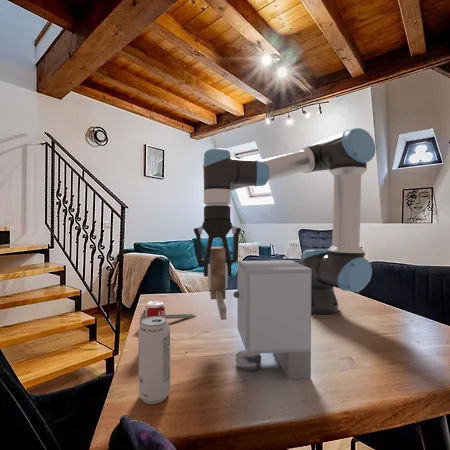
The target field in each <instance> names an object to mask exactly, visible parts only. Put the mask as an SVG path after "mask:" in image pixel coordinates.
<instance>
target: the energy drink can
mask: <svg viewBox="0 0 450 450" xmlns="http://www.w3.org/2000/svg"><path fill="white" fill-rule="evenodd" d="M137 331H138V332H137V333H138V335H137V336H138V337H137V338H138V339H137V340H138V343H137V344H138V353H137V354H138V355H137V356H138V357H137V358H138V396H139V398H140V399H141V401H142V402H143V403H145V404H147V405H156V404H158V403H162V402H163V401H165V400H166V399H167V397H168V395H169V394H170V392H171V327H170V325H169V323H168V319H166V318H165V317H161V316H153V317H148V318H145V319H143V320H142V324H141V326H140V325H139V328H138V329H137Z"/></svg>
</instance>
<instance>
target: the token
mask: <svg viewBox="0 0 450 450" xmlns="http://www.w3.org/2000/svg"><path fill="white" fill-rule="evenodd" d="M235 366H236V368H237V369H238V370H240V371H242V372H247V373H248V372H249V373H251V372H256V371H259V370H260V369H261V367H262V355H261V354H247V352H246V349H244V350H243V349H242V350H240V351H238V352H237V353H236V354H235Z"/></svg>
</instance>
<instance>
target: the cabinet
mask: <svg viewBox="0 0 450 450" xmlns="http://www.w3.org/2000/svg"><path fill="white" fill-rule="evenodd" d="M236 280H237V281H236V282H237V284H236V285H237V288H236V289H237V290H236V291H234V292H233V297H234V298H235V299H237V301H236V302H237V307H236V309H237V311H236V312H237V313H236V314H237V319H236V321H237V323H236V324H237V326H236V328H237V331H238V333H239V336H240V339H241V342H242V344H243V347H244V350H246V352H247V354H260V355H261V354H273V355H274V357H275V358H276V360H277V362H278V364H279V366H280V367H281V369H282V371H283V373H284V374H285V376H286V378H287V379H288V380H289V381H290V380H309V379H311V378H312V377H311V376H312V374H311V373H312V372H311V371H312V365H311V364H312V347H311V346H312V313H311V269H310V268H308V267H306V266H304V265H302V263H300V262H296V261H294V260H290V259H289V260H288V259H287V260H285V259H284V260H283V259H282V260H278V259H277V260H276V259H275V260H238V264H237V279H236Z"/></svg>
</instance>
